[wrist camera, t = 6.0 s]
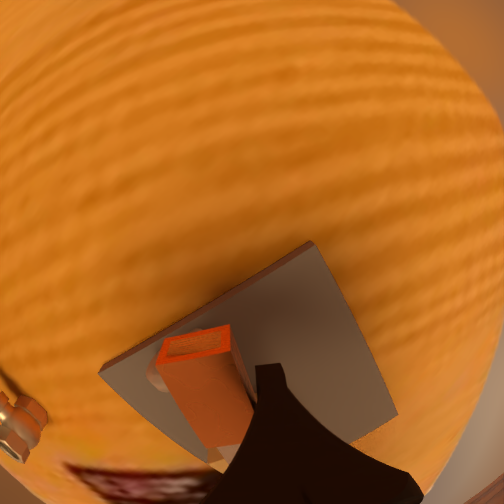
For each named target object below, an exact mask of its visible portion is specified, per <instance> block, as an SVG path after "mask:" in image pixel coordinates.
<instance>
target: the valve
mask: <svg viewBox="0 0 504 504" xmlns="http://www.w3.org/2000/svg"><path fill="white" fill-rule="evenodd" d="M8 400H9V398H8V397H7V396H6V394H5V393H4V392H3V391H1V392H0V421H1V423H2V426H1V425H0V448H1V449H2V450H3V451H4V452H5V453H6V454H7V455H8V456H10V457H11V458H12V459H14V460H16V461H17V462H20V463H24V464H25V462H26V460H27V458H28V456H29V454H30V452H29V450H30V449H33V448H34V447H36V446H37V444H38V443H39V441H40V437H41V431H42V430H43V429H44V427H45V425H46V423H47V412H46V411H45V410H44V409H43V408H42V407H41V406H40V405H39V404H38V403H37V402H36V401H35V400H34V399H33V398H30V397H26V396H23V395H20V397H19V398H18V399H17V401H16V402H15V403H14V406H15V407H13V406H12V405H11V404H10V403H9V402H8Z"/></svg>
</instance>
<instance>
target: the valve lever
mask: <svg viewBox="0 0 504 504" xmlns="http://www.w3.org/2000/svg"><path fill="white" fill-rule="evenodd" d="M155 366H156V368H157V370H158V372H159V374H160V375H161V377H162V379H163V381H164V383H165V384H166V386H167V388H168V390H169V391H170V393H171V395H172V397H173V398H174V400H175V402H176V403H177V405H178V407H179V408H180V410H181V412H182V413H183V415H184V416H185V418H186V419H187V421H188V423H189V424H190V426H191V427H192V429H193V430H194V432H195V433H196V435H197V436H198V438H199V439H200V441H201V442H202V443H203V445H204V446H205V448H214V447H217V449H218V450H219V452H220V453H221V454H222V456H223V457H224V459H225V460H226V462H227V463H228V465H229V464H230V463H231V461H232V459H233V458H234V456H235V454H236V452H237V450H238V448H239V447H240V445H241V443H242V441H243V438H244V436H245V434H246V432H247V430H248V427H249V425H250V422H251V419H252V416H253V413H254V410H255V407H256V404H257V399H256V396H255V393H254V391H253V388H252V385H251V383H250V380H249V377H248V374H247V372H246V369H245V366H244V363H243V360H242V358H241V355H240V352H239V349H238V346H237V343H236V340H235V338H234V335H233V332H232V329H231V326H230V324H228V325H224V326H219V327H215V328H211V329H206V330H202V331H198V332H193V333H188V334H184V335H179V336H174V337H169V338H165V339H164V341H163V344H162V347H161V350H160V353H159V355H158V358H157V361H156V364H155Z"/></svg>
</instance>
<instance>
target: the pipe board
mask: <svg viewBox="0 0 504 504" xmlns="http://www.w3.org/2000/svg"><path fill="white" fill-rule="evenodd" d="M228 324H230V326H231V329H232V332H233V335H234V338H235V340H236V343H237V346H238V349H239V352H240V355H241V358H242V360H243V363H244V366H245V369H246V372H247V374H248V377H249V380H250V383H251V385H252V388H253V391H254V393H255V396H256V399H257V387H256V375H255V365H264V364H273V363H281V365H282V368H283V370H284V373H285V377H286V383H287V387H288V388H289V389H290V391H291V392H292V393H293V394H294V396H295V397H296V398H297V399H298V401H299V402H300V403H301V404H302V405H303V406H304V407H305V408H306V409H307V410H308V411H309V412H310V413H311V414H312V415H313V416H314V417H315V418H316V419H317V420H318V421H319V422H320V423H321V424H322V425H323V426H325V427H326V428H327V429H328V430H329V431H331V432H332V433H333V434H335V435H336V436H337V437H339V438H340V439H341V440H343V441H344V442H346V443H347V444H350V443H351V442H353V441H355V440H357V439H359V438H361V437H362V436H364V435H366V434H368V433H370V432H371V431H373V430H375V429H376V428H378V427H380V426H381V425H383V424H384V423H386V422H388V421H389V420H391V419H392V418H394V417H395V416H397V415H398V413H397V410H396V408H395V406H394V403H393V401H392V398H391V396H390V394H389V391H388V389H387V387H386V385H385V382H384V380H383V378H382V376H381V373H380V371H379V369H378V367H377V365H376V362H375V360H374V358H373V356H372V354H371V352H370V349H369V347H368V345H367V343H366V341H365V339H364V337H363V335H362V333H361V331H360V329H359V327H358V325H357V323H356V320H355V318H354V316H353V314H352V312H351V310H350V309H349V307H348V305H347V303H346V301H345V299H344V297H343V295H342V293H341V291H340V289H339V287H338V285H337V283H336V281H335V280H334V278H333V276H332V274H331V272H330V270H329V268H328V266H327V265H326V263H325V261H324V259H323V257H322V255H321V254H320V252H319V250H318V248H317V246H316V245H315V244H314V243H313V242H311V241H309V242H307V243H305V244H304V245H302V246H301V247H299V248H297V249H296V250H294V251H293V252H291V253H290V254H288V255H286V256H285V257H283V258H282V259H280V260H278V261H277V262H275V263H274V264H272V265H270V266H269V267H267V268H266V269H264V270H262V271H261V272H259V273H258V274H256V275H254V276H253V277H251V278H249V279H248V280H246V281H245V282H243V283H241V284H240V285H238V286H236V287H235V288H233V289H231V290H230V291H228V292H227V293H225V294H223V295H222V296H220V297H218V298H217V299H215V300H213V301H212V302H210V303H208V304H207V305H205V306H203V307H202V308H200V309H198V310H197V311H195V312H193V313H192V314H190V315H188V316H187V317H185V318H183V319H182V320H180V321H178V322H177V323H175V324H173V325H172V326H170V327H168V328H166V329H165V330H163V331H161V332H160V333H158V334H156V335H155V336H153V337H151V338H149V339H148V340H146V341H144V342H143V343H141V344H139V345H137V346H136V347H134V348H132V349H130V350H129V351H127V352H125V353H123V354H122V355H120V356H118V357H116V358H115V359H113V360H111V361H109V362H108V363H106V364H104V365H103V366H102V367H101V369H100V371H99V372H98V375H99V376H100V377H101V378H102V379H103V380H104V381H105V382H106V383H107V384H108V385H109V386H110V387H111V388H112V389H113V390H114V391H115V392H116V393H117V394H119V395H120V396H121V397H122V398H123V399H124V400H125V401H126V402H127V403H128V404H129V405H130V406H132V407H133V408H134V409H135V410H136V411H137V412H138V413H140V414H141V415H142V416H143V417H144V418H145V419H147V420H148V421H149V422H150V423H151V424H153V425H154V426H155V427H156V428H158V429H159V430H160V431H161V432H163V433H164V434H165V435H167V436H168V437H169V438H171V439H172V440H173V441H175V442H176V443H177V444H179V445H180V446H182V447H183V448H184V449H186V450H187V451H189V452H190V453H192V454H193V455H194V456H196V457H197V458H199V459H201V460H202V461H204V462H205V463H207V464H208V465H210V466H211V467H213V468H214V469H216V470H218V471H219V472H221V473H224V472H225V470H226V469H227V467H228V466H229V465H228V463H227V462H226V460H225V459H224V457H223V456H222V454H221V453H220V452H219V450H218V449H217V447H214V448H205V446H204V445H203V443H202V442H201V441H200V439H199V438H198V436H197V435H196V433H195V432H194V430H193V429H192V427H191V426H190V424H189V423H188V421H187V419H186V418H185V416H184V415H183V413H182V412H181V410H180V408H179V407H178V405H177V403H176V402H175V400H174V398H173V397H172V395H171V393H170V391H169V390H168V388H167V386H166V384H165V383H164V381H163V379H162V377H161V375H160V374H159V372H158V370H157V368H156V366H155V364H156V361H157V358H158V355H159V353H160V350H161V347H162V344H163V341H164V339H165V338H169V337H174V336H179V335H184V334H188V333H193V332H198V331H202V330H206V329H211V328H215V327H219V326H224V325H228ZM257 400H258V399H257Z"/></svg>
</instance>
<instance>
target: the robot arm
mask: <svg viewBox="0 0 504 504" xmlns="http://www.w3.org/2000/svg"><path fill="white" fill-rule="evenodd" d="M255 375H256V387H257V399H258V400H257V404H256V407H255V410H254V413H253V416H252V419H251V422H250V425H249V427H248V430H247V432H246V434H245V436H244V438H243V441H242V443H241V445H240V447H239V448H238V450H237V452H236V454H235V456H234V458H233V459H232V461H231V463H230V464H229V466H228V467H227V469H226V470H225V472H224V473H223V475H222V476H221V477H220V479H219V480H218V482H217V483H216V484H215V486H214V487H213V488H212V489H211V491H210V492H209V493H208V494H207V495H206V496H205V498H204V499H203V500H202V501H201V502H200V503H199V504H420V503H421V502H422V500H423V497H424V495H423V493H422V491H421V489H420V487H419V486H418V484H417V483H416V482H415V480H414V479H413V478H412V476H411V475H410V474H409V473H408V472H405V471H402V470H399V469H396V468H394V467H391V466H389V465H386V464H384V463H382V462H380V461H377V460H375V459H373V458H371V457H369V456H367V455H366V454H364V453H362V452H360V451H359V450H357V449H356V448H354V447H352V446H351V445H349V444H347V443H346V442H344V441H343V440H341V439H340V438H339V437H337V436H336V435H335V434H333V433H332V432H331V431H329V430H328V429H327V428H326V427H325V426H323V425H322V424H321V423H320V422H319V421H318V420H317V419H316V418H315V417H314V416H313V415H312V414H311V413H310V412H309V411H308V410H307V409H306V408H305V407H304V406H303V405H302V404H301V403H300V402H299V401H298V399H297V398H296V397H295V396H294V394H293V393H292V392H291V391H290V389H289V388H288V387H287V383H286V377H285V373H284V370H283V368H282V365H281V363H273V364H264V365H255ZM464 504H504V473H503V474H502V475H501V476H499V477H498V478H497V479H496V480H495V481H493V482H492V483H491V484H490V485H488V486H487V487H486V488H484V489H483V490H482V491H481V492H479V493H478V494H476V495H475V496H474V497H472V498H471V499H469V500H468V501H467V502H465V503H464Z"/></svg>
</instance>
